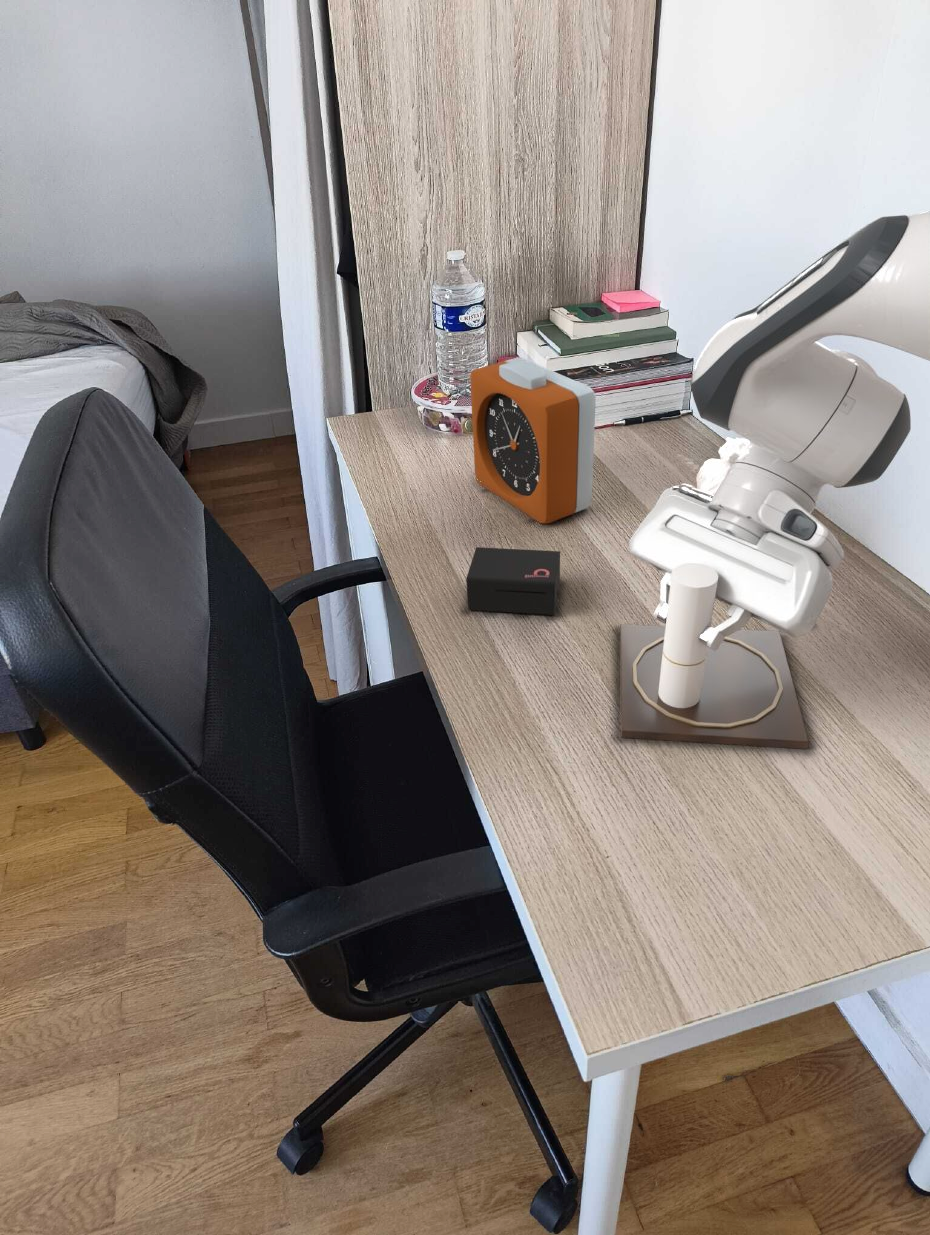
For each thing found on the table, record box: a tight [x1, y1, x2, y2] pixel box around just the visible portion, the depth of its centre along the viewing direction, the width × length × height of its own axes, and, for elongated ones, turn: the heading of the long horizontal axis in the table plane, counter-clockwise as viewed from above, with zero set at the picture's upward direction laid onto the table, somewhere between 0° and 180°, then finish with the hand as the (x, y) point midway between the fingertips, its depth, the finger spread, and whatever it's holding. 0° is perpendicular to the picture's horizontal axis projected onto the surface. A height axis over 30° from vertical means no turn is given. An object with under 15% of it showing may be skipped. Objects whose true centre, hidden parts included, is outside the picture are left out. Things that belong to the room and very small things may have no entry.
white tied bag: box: [695, 436, 750, 494], centre depth 119 cm, size 12×8×11 cm
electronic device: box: [466, 546, 561, 616], centre depth 104 cm, size 7×11×5 cm
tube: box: [658, 563, 718, 708], centre depth 84 cm, size 4×4×15 cm
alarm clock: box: [469, 356, 597, 524], centre depth 121 cm, size 18×9×21 cm, turn 33°
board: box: [619, 623, 810, 750], centre depth 90 cm, size 18×18×1 cm
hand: (683, 633), depth 83 cm, fingers closed on tube, 4 cm apart
